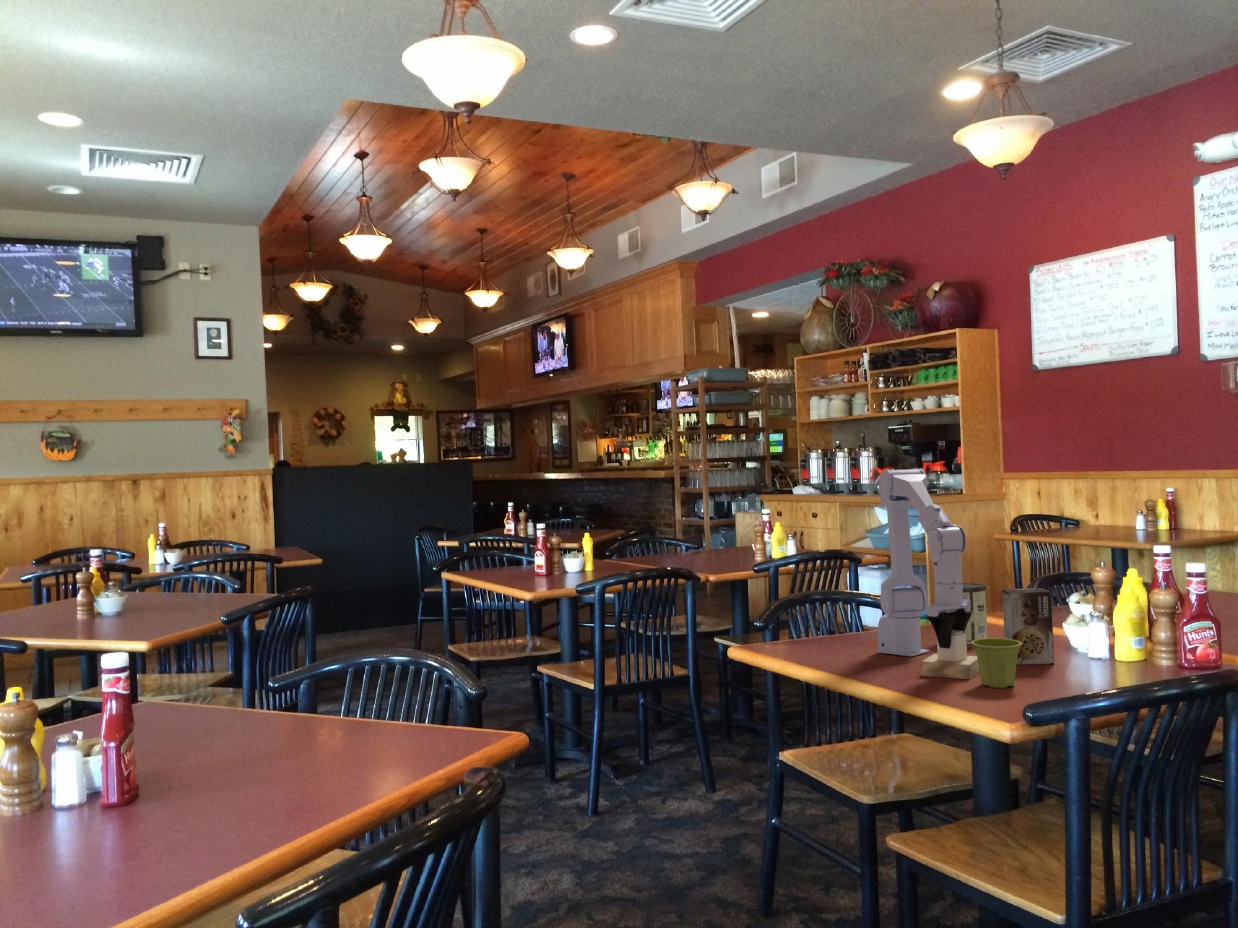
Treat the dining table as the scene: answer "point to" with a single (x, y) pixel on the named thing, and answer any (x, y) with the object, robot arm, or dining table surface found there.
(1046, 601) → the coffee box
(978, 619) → the coffee can
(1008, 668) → the plant pot
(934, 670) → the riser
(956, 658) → the white rectangular block
